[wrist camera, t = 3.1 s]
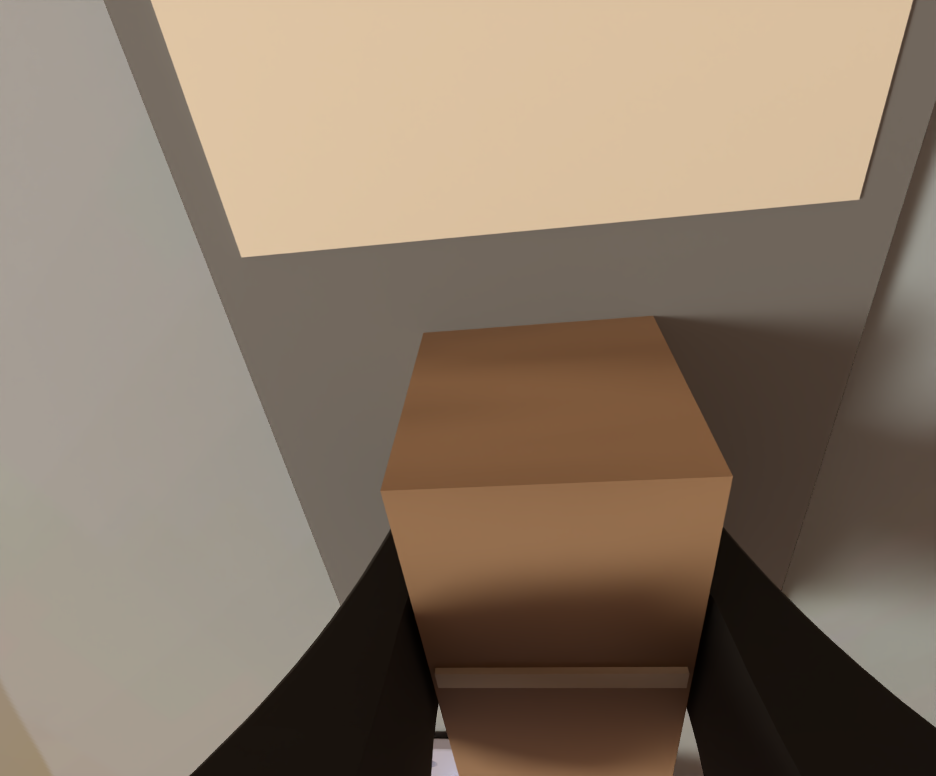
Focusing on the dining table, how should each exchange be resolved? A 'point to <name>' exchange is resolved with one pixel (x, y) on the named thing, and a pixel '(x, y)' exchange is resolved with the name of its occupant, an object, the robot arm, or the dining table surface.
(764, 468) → the mat
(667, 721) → the brown rectangular block
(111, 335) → the dining table surface
